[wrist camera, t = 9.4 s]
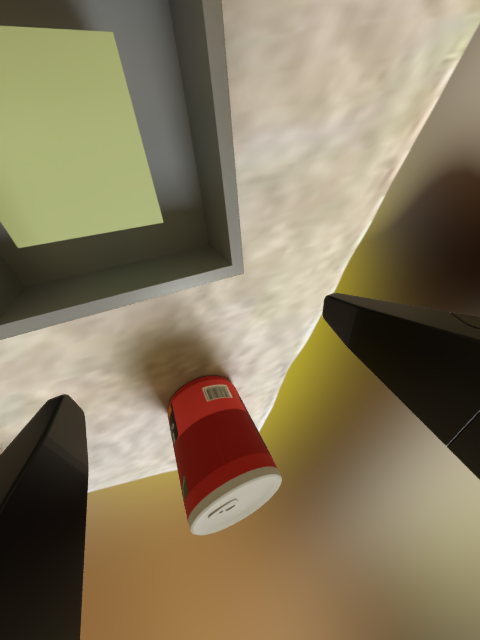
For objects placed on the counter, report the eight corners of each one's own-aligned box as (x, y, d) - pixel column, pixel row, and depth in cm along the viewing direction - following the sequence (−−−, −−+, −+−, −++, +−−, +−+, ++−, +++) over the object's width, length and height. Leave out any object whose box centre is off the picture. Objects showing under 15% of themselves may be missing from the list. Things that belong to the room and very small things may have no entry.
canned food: (151, 403, 23) (169, 534, 15) (217, 361, 24) (268, 464, 16) (188, 429, 28) (217, 539, 20) (242, 394, 29) (291, 485, 21)
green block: (55, 218, 12) (18, 248, 8) (-13, 89, 9) (-136, 17, 5) (149, 203, 14) (163, 222, 9) (115, 88, 11) (112, 31, 6)
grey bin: (21, 296, 14) (-15, 343, 10) (-284, -103, 6) (-881, -500, 3) (217, 250, 18) (244, 273, 14) (174, -39, 10) (207, -165, 6)
